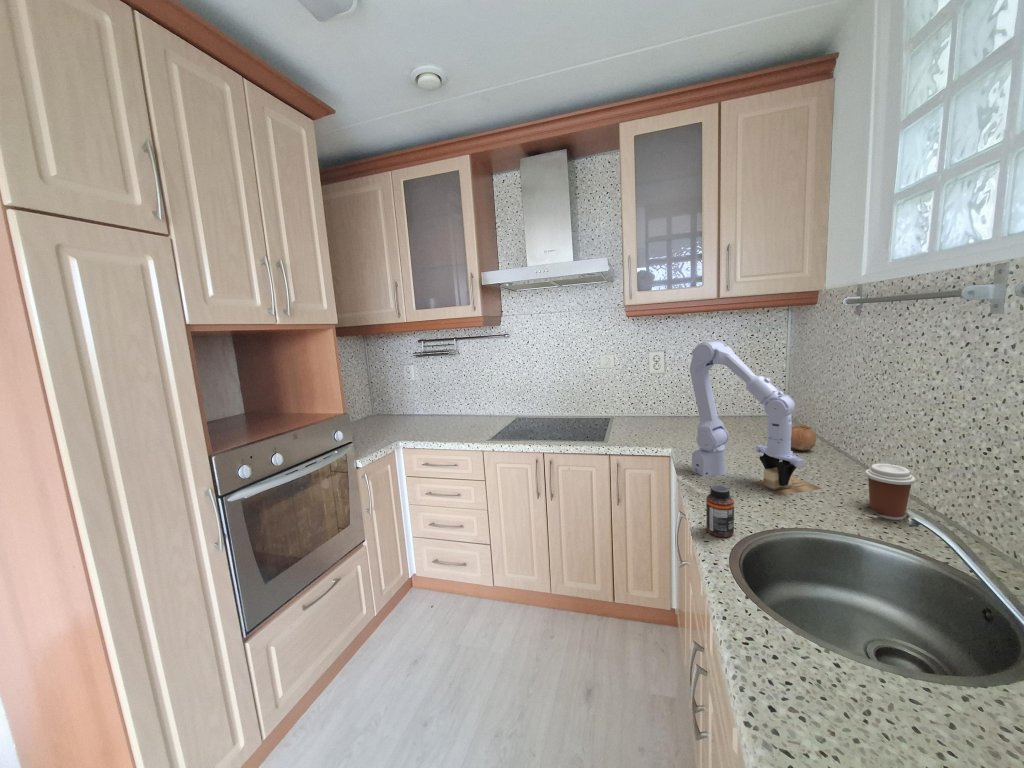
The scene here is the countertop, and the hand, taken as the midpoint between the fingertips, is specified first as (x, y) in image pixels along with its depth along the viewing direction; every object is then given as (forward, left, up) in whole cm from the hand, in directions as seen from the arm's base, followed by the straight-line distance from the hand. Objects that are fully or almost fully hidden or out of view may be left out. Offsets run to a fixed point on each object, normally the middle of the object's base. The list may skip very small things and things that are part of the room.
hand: (777, 482), depth 115 cm
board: (+4, 0, -3) cm, 4 cm away
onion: (+36, +27, -3) cm, 45 cm away
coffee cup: (+14, -19, -3) cm, 23 cm away
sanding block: (0, 0, -1) cm, 1 cm away
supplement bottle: (-30, -15, -3) cm, 34 cm away
